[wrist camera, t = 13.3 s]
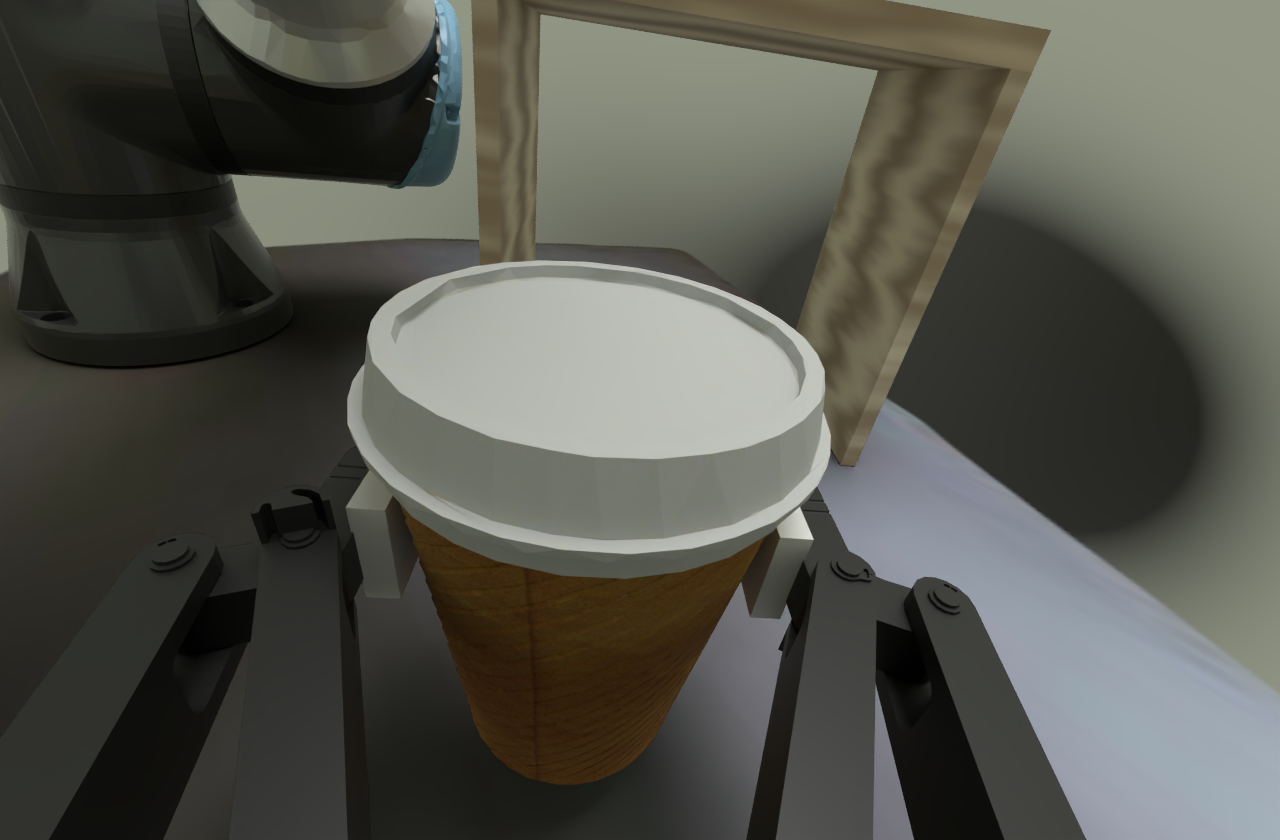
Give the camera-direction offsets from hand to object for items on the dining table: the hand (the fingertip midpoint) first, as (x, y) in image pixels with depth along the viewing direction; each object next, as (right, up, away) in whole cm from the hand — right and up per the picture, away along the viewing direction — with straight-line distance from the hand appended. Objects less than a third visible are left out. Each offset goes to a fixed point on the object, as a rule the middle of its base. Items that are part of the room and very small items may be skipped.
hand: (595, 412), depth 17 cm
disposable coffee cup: (-1, -9, 0) cm, 9 cm away
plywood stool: (+4, +2, +23) cm, 23 cm away
